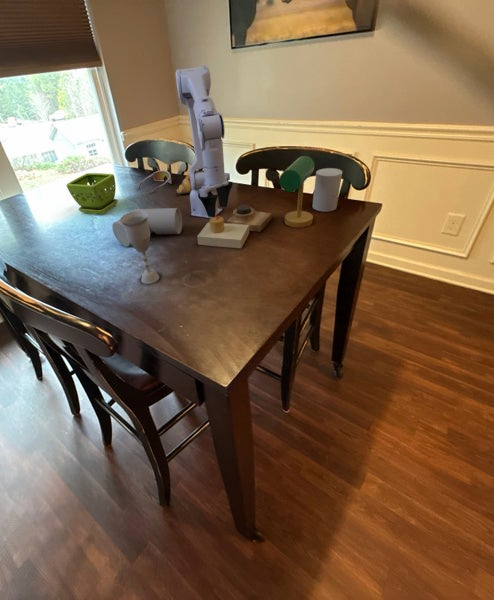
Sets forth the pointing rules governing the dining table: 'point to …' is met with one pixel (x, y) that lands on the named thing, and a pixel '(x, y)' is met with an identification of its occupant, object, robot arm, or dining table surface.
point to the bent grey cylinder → (153, 223)
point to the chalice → (140, 240)
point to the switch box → (251, 219)
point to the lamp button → (243, 209)
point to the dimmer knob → (217, 224)
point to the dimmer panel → (224, 236)
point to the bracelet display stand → (290, 183)
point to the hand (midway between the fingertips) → (217, 211)
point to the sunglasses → (159, 178)
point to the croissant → (185, 186)
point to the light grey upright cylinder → (326, 189)
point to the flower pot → (94, 192)
